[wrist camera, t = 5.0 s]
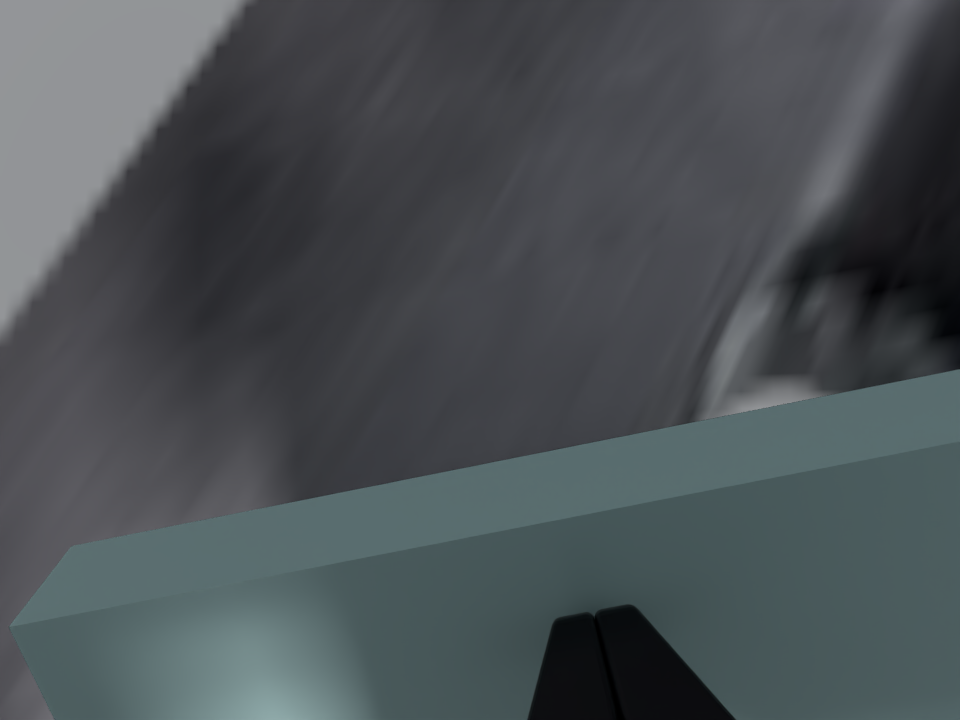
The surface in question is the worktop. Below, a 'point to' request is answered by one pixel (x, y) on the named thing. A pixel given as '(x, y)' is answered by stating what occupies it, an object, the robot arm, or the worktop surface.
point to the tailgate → (547, 578)
